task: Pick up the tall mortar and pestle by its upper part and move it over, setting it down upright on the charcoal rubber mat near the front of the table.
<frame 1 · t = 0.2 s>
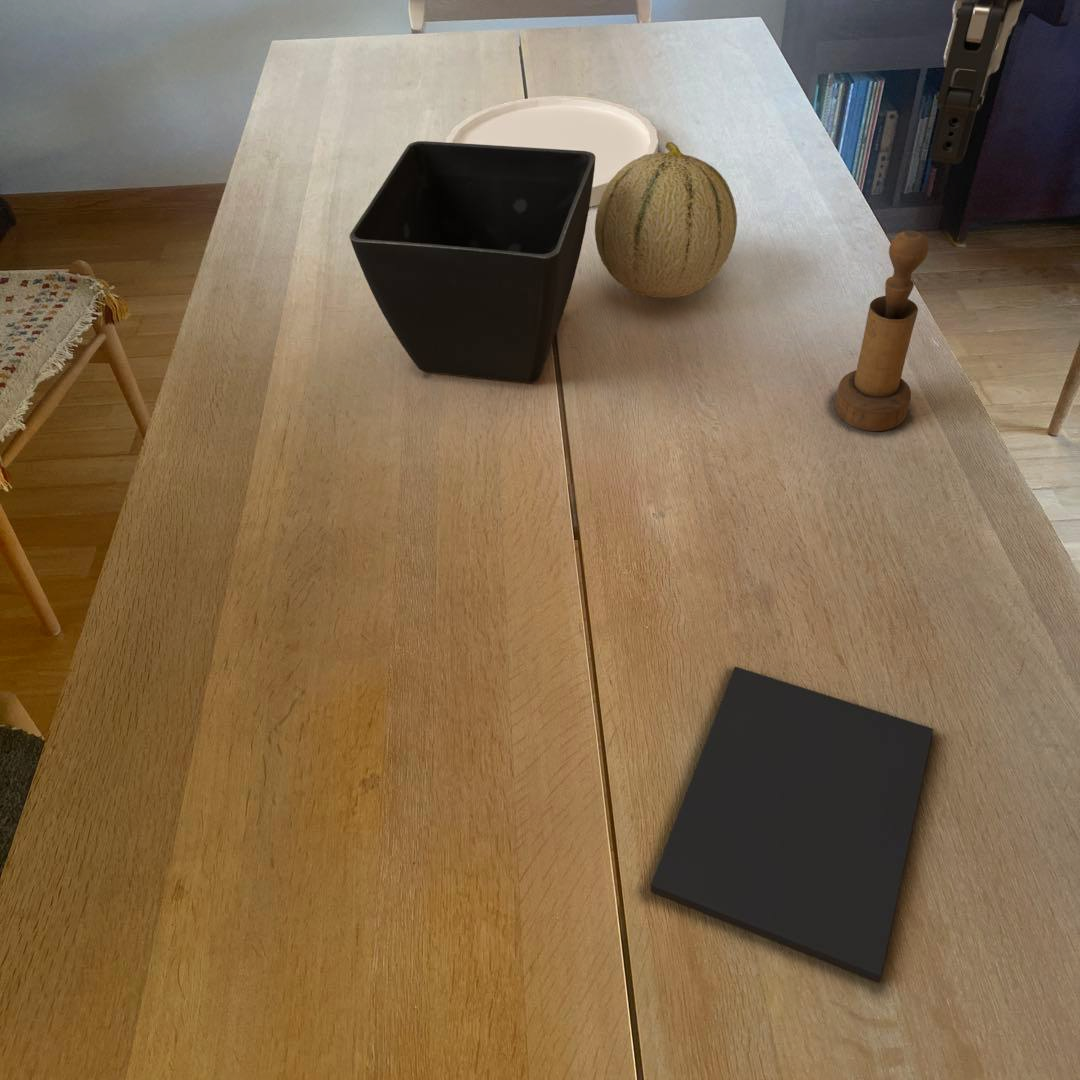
hand: (955, 133, 70), 28 cm above the table, tool pointing down, fingers open, 8 cm apart
cantaloupe: (662, 289, 109), on the table
plate: (551, 160, 132), on the table
mat: (797, 810, 66), on the table
flower pot: (492, 345, 104), on the table
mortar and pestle: (869, 410, 93), on the table
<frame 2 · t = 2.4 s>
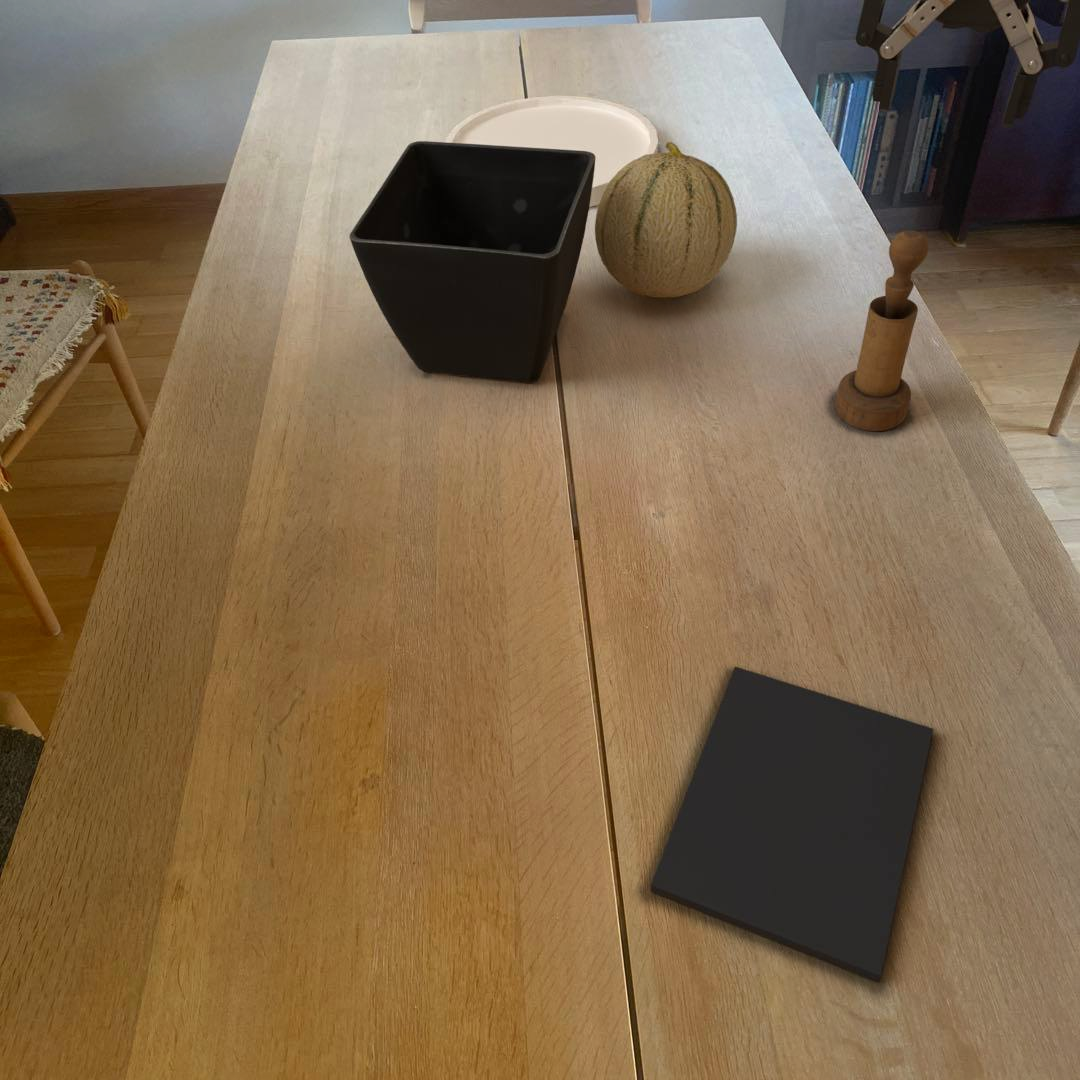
hand: (945, 114, 72), 28 cm above the table, tool pointing down, fingers open, 8 cm apart
nothing on the table moved.
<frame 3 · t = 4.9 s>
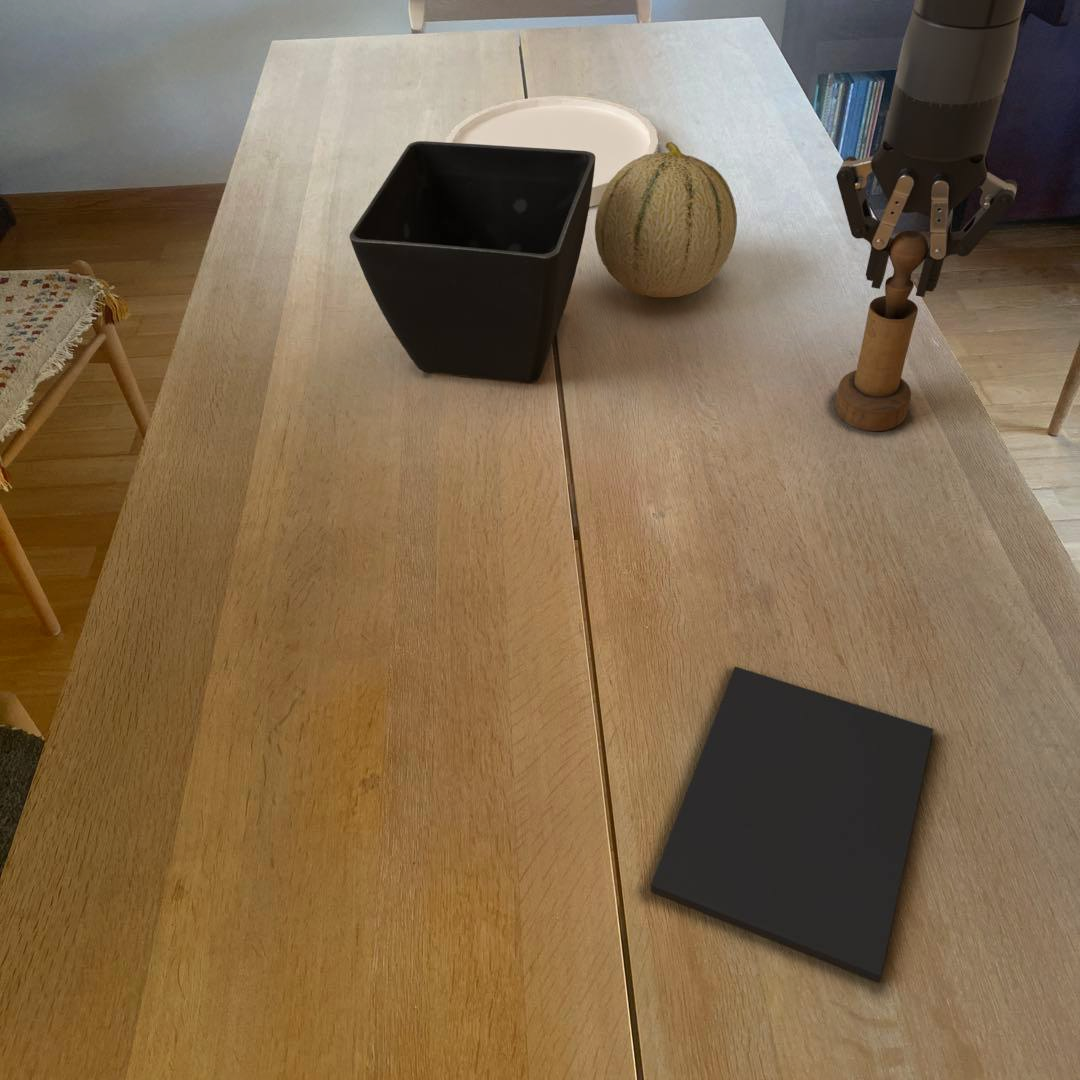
hand: (899, 286, 84), 13 cm above the table, tool pointing down, fingers closed on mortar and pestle, 3 cm apart
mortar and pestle: (869, 410, 93), on the table, touching gripper
everything else where it was.
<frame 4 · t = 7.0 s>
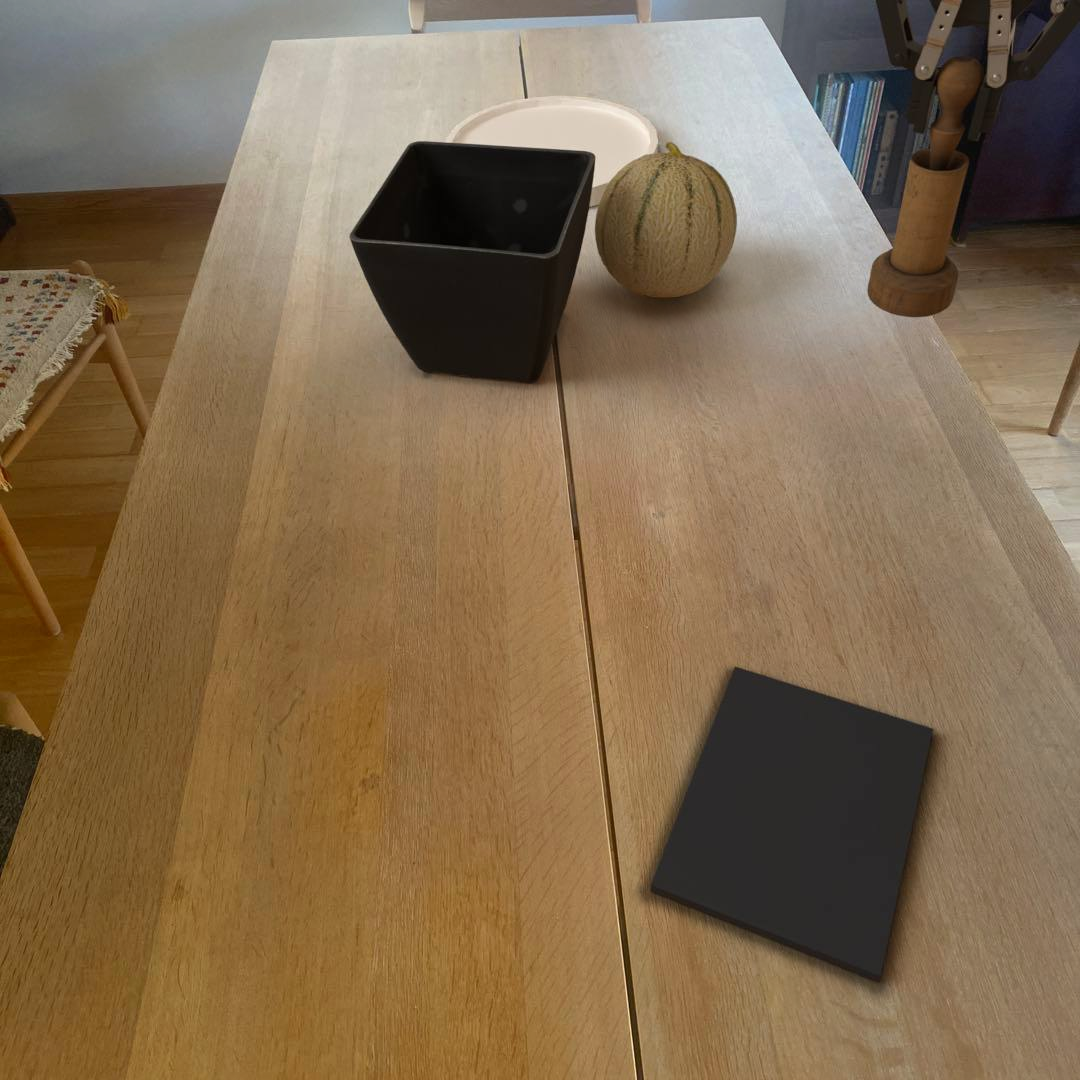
hand: (947, 131, 70), 29 cm above the table, tool pointing down, fingers closed on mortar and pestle, 3 cm apart
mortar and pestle: (908, 296, 79), point 15 cm above the table, touching gripper
everything else where it was.
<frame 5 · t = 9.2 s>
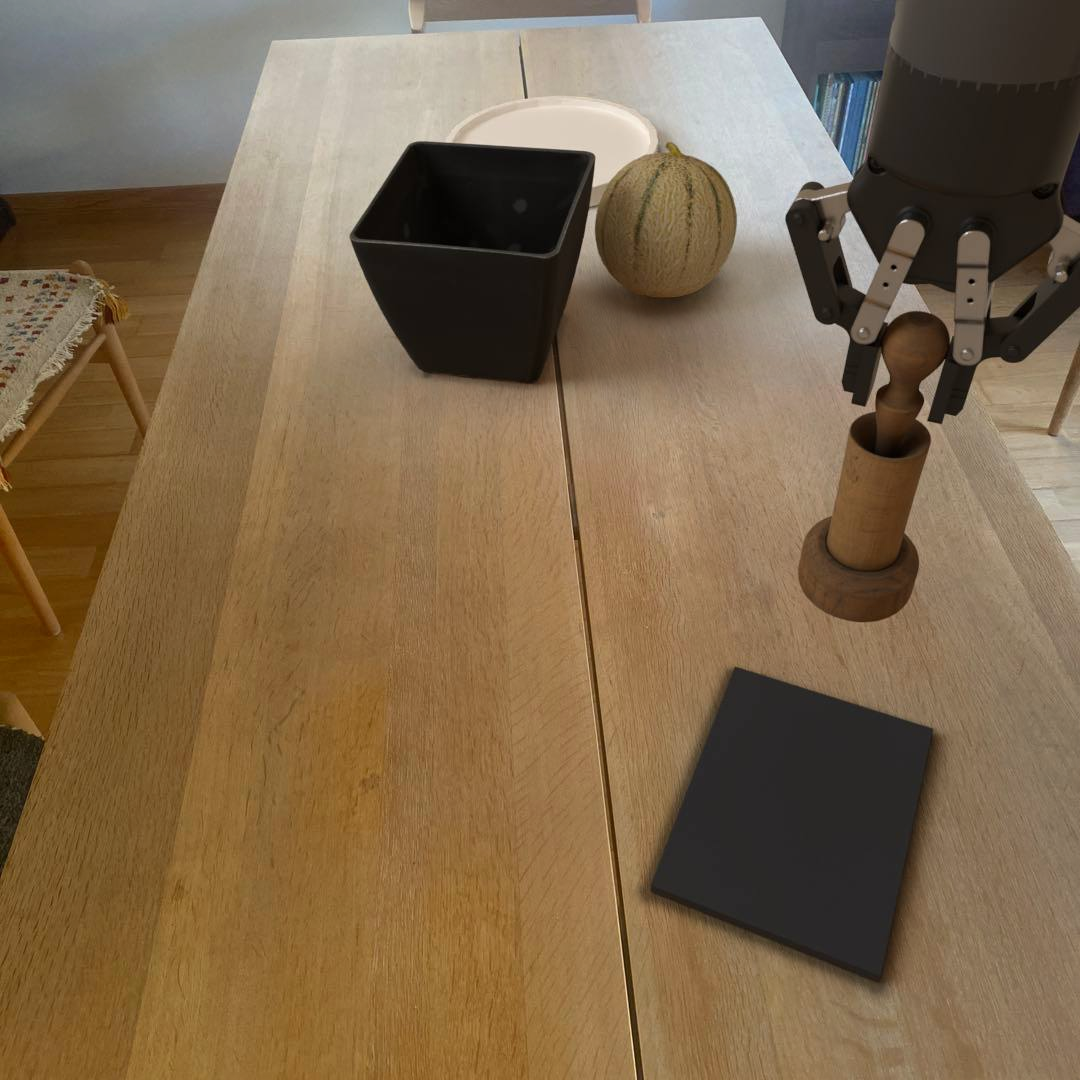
hand: (900, 403, 49), 29 cm above the table, tool pointing down, fingers closed on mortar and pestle, 3 cm apart
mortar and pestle: (853, 581, 59), point 16 cm above the table, touching gripper
everything else where it was.
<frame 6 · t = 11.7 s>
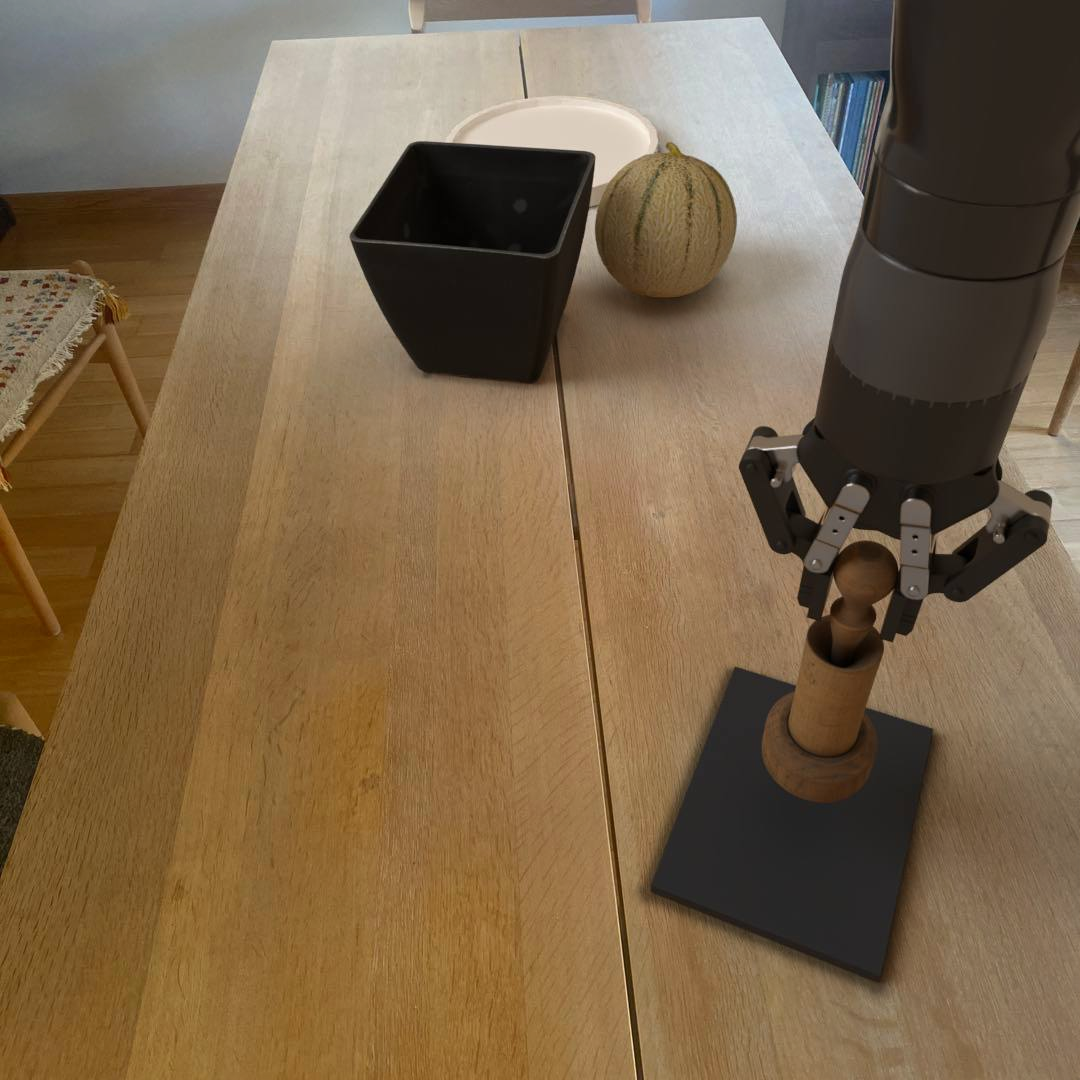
hand: (853, 617, 51), 20 cm above the table, tool pointing down, fingers closed on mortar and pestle, 3 cm apart
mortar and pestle: (814, 755, 61), point 7 cm above the table, touching gripper
everything else where it was.
when the fingers open (14 cm above the table, at t = 13.5 s): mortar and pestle stays where it is, resting on mat.
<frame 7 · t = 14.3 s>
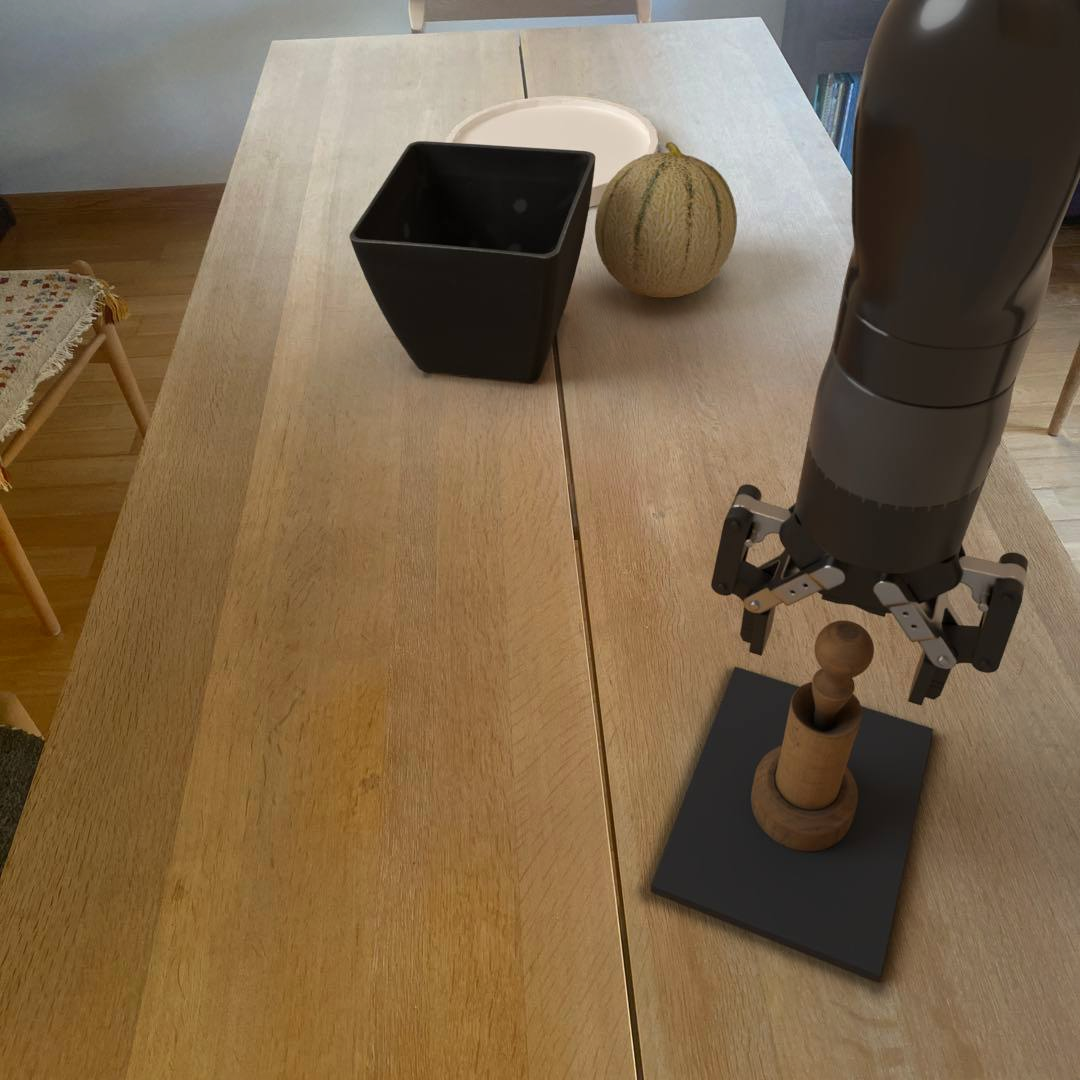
hand: (837, 666, 54), 16 cm above the table, tool pointing down, fingers open, 8 cm apart
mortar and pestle: (800, 806, 65), point 1 cm above the table, touching mat
everything else where it was.
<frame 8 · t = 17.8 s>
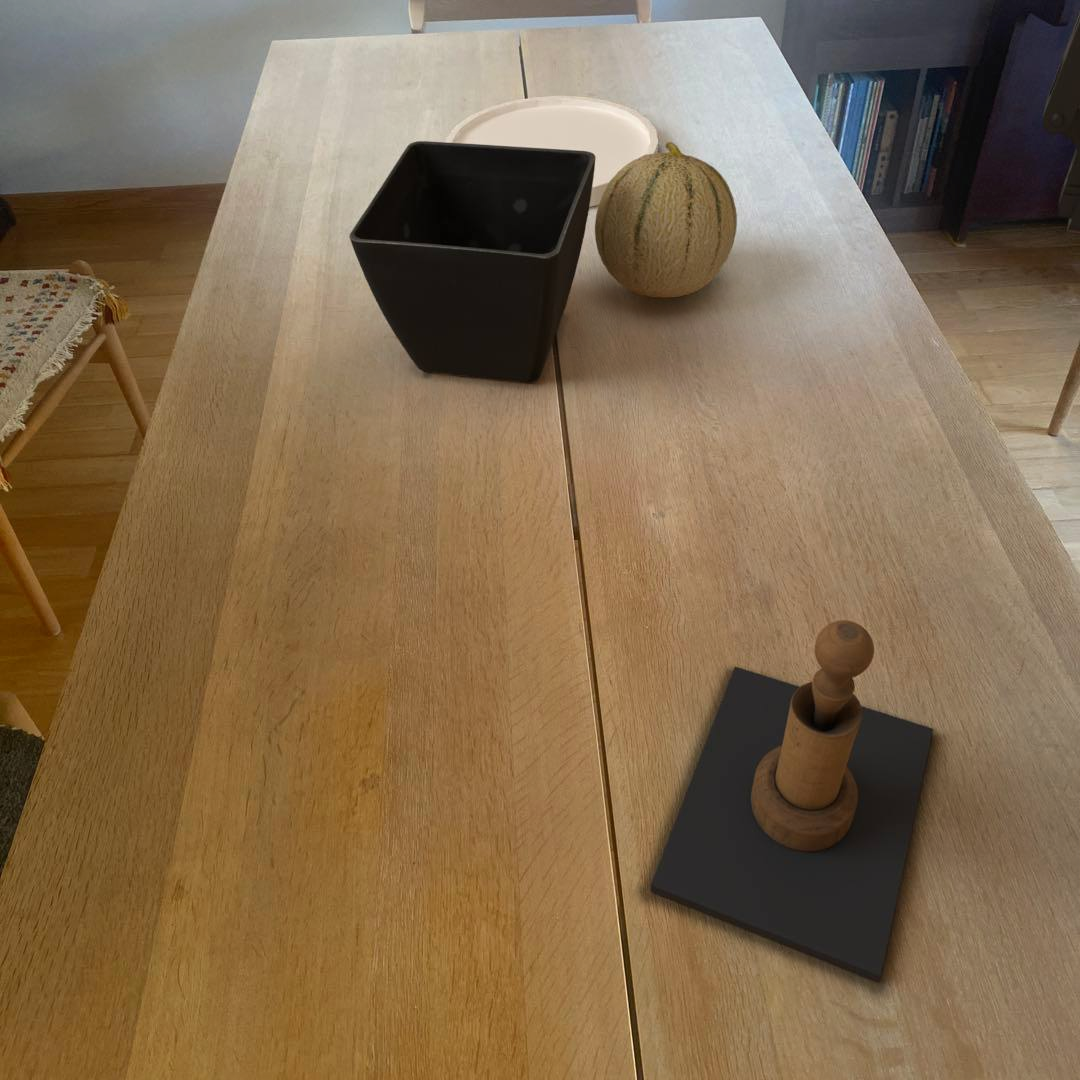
nothing on the table moved.
at the end: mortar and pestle inside the target area on the mat (0.1 cm from its centre), point 0.8 cm above the mat's base; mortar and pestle tilted 0°; the gripper is holding nothing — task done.
